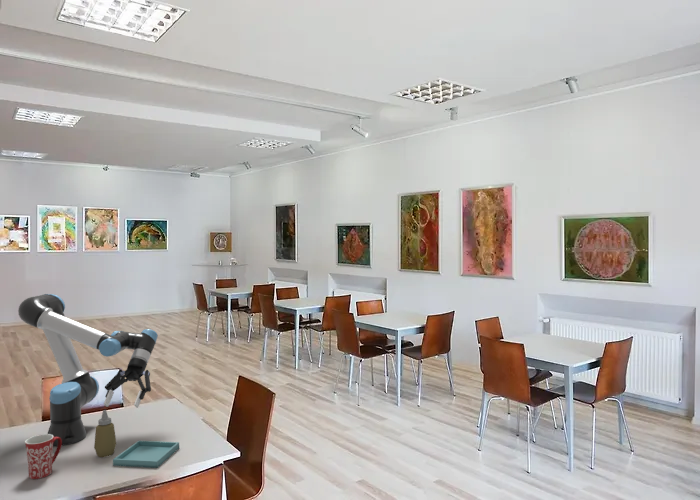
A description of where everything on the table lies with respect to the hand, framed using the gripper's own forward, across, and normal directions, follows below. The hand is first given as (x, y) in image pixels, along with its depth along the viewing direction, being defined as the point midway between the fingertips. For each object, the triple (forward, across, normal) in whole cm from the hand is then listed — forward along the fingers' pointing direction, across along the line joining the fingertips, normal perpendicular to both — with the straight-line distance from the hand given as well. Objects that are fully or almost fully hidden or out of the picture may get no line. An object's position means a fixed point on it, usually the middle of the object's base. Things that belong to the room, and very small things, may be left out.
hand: (120, 405), depth 211 cm
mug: (+31, +14, +7) cm, 34 cm away
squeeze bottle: (+19, +1, -5) cm, 19 cm away
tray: (+19, -17, -5) cm, 26 cm away
